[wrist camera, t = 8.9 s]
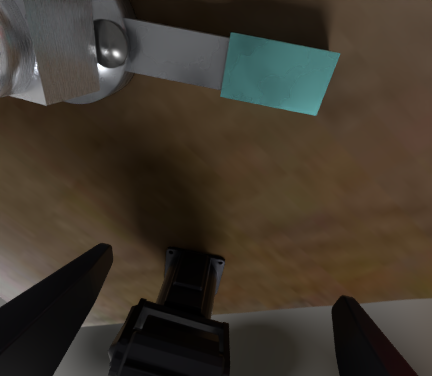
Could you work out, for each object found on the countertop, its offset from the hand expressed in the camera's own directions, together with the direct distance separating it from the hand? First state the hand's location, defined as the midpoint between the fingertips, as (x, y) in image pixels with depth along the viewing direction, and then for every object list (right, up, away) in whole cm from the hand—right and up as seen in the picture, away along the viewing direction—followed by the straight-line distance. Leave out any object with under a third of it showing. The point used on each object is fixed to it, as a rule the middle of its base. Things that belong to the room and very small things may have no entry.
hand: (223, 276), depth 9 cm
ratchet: (-3, +13, +7) cm, 15 cm away
